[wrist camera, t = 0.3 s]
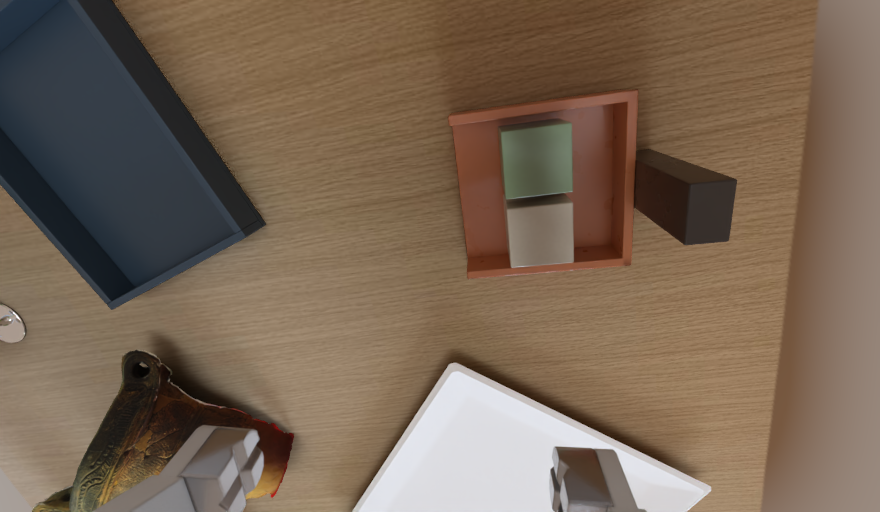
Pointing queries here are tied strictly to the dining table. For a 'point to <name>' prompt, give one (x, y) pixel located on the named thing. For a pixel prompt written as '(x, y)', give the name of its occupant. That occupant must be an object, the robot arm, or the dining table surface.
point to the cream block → (539, 230)
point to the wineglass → (10, 325)
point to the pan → (587, 184)
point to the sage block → (536, 158)
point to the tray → (108, 150)
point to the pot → (156, 438)
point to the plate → (502, 456)
